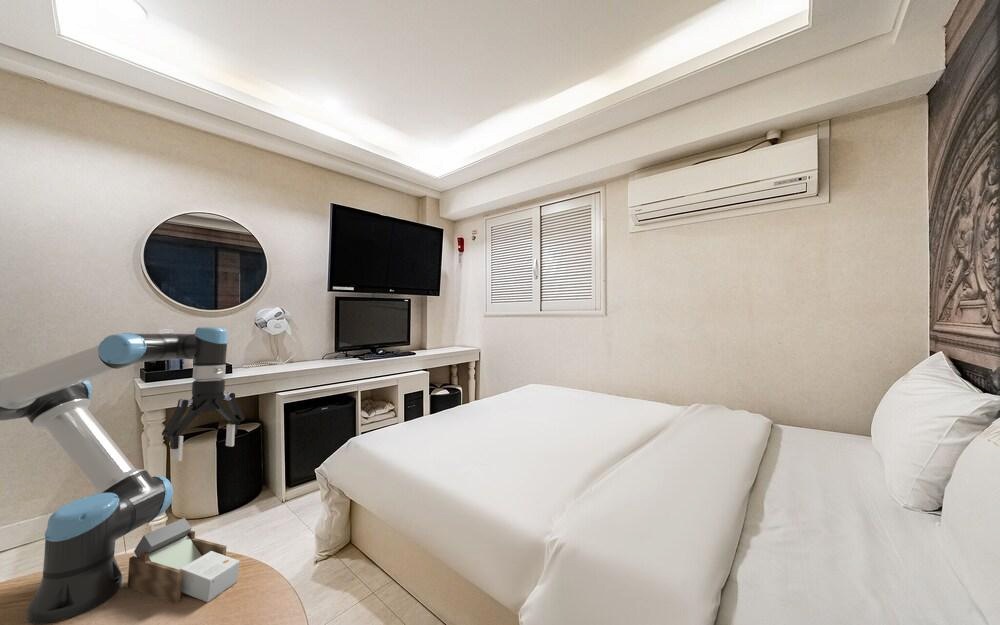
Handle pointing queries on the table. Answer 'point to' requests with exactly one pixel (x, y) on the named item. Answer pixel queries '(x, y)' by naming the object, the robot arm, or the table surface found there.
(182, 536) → the trapdoor
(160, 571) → the trapdoor frame
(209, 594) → the small box
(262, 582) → the table surface
